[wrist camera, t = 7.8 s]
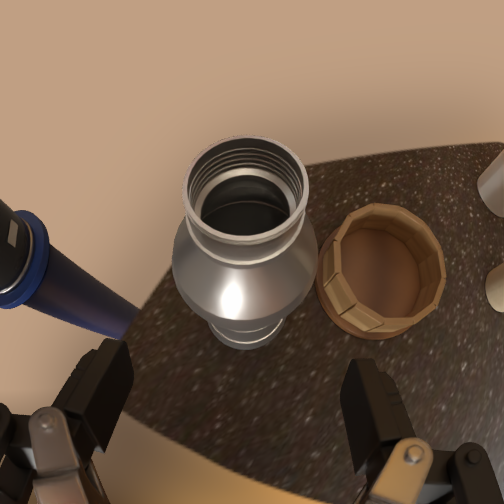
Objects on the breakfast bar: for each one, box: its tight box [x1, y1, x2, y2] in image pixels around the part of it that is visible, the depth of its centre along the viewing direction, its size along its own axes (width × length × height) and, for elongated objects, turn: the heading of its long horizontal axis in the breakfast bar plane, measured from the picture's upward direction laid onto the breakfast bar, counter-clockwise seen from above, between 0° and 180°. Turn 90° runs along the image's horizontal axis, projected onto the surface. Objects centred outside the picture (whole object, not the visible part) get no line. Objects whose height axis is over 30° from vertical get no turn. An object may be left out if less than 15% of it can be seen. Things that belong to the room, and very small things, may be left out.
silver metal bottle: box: [172, 135, 318, 350], centre depth 18 cm, size 6×7×20 cm
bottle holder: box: [315, 203, 446, 340], centre depth 26 cm, size 12×12×5 cm
